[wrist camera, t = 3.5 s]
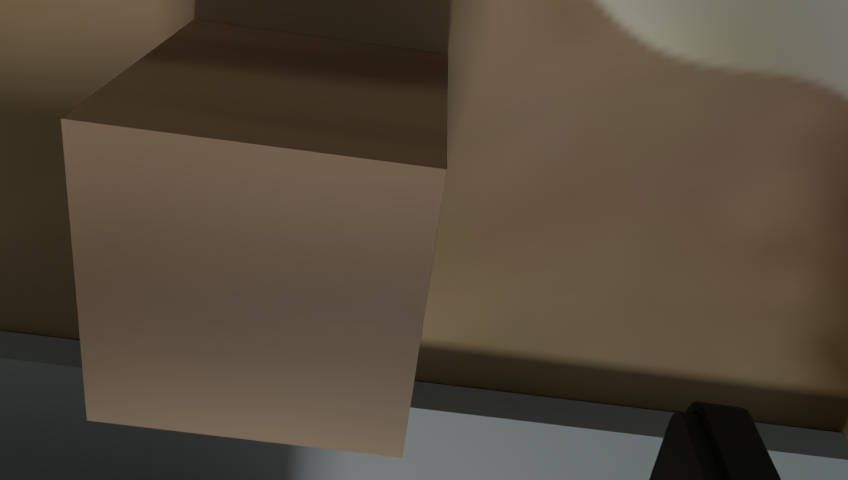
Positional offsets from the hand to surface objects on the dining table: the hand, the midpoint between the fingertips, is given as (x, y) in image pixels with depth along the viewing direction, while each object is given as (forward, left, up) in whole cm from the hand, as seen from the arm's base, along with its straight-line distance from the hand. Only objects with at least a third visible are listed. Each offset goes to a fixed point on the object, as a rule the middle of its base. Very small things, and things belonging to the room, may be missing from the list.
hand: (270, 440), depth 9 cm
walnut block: (0, -1, -8) cm, 8 cm away
